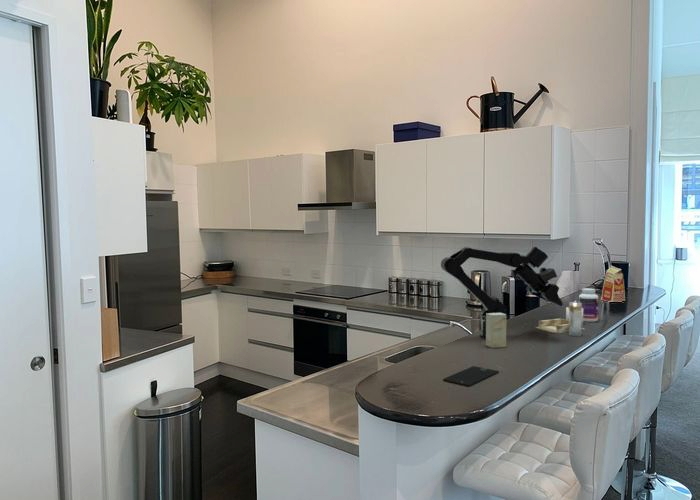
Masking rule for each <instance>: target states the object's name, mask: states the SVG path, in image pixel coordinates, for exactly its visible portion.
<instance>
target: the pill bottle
mask: <svg viewBox="0 0 700 500" xmlns="http://www.w3.org/2000/svg"><path fill="white" fill-rule="evenodd" d="M578 302H580V303H582V308H583V322H589V323H591V322H594V323H595V322H597V321H598V320H599V295H597V294H596V289H595V288H589V287H588V288H586V287H585V288H581V293H580V294H579V296H578Z"/></svg>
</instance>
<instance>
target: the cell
mask: <svg viewBox="0 0 700 500" xmlns="http://www.w3.org/2000/svg"><path fill="white" fill-rule="evenodd" d="M568 307H569V332H568V336H572V337H581V336H582V330H581V315H582V303H580V302H579V300H578V301H577V300H573V301H569V302H568Z"/></svg>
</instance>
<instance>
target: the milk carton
mask: <svg viewBox="0 0 700 500" xmlns="http://www.w3.org/2000/svg"><path fill="white" fill-rule="evenodd" d="M605 272H606V273H605V276H604V282H603V286H602V291H601V297H600V301H601V300H604V301H608V302H607V303H609V302H622V301H625V302H626V291H625V279H624V273H623V272H622V268H618V267H616V266H613V265H610V268H608V269H607V270H606V271H605ZM622 303H623V302H622Z"/></svg>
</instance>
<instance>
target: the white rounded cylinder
mask: <svg viewBox="0 0 700 500" xmlns="http://www.w3.org/2000/svg"><path fill="white" fill-rule="evenodd" d="M565 319H566V320H569V306H567V307H565ZM581 323H582V326H583V325H584V321H583V308H582V315H581Z"/></svg>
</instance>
